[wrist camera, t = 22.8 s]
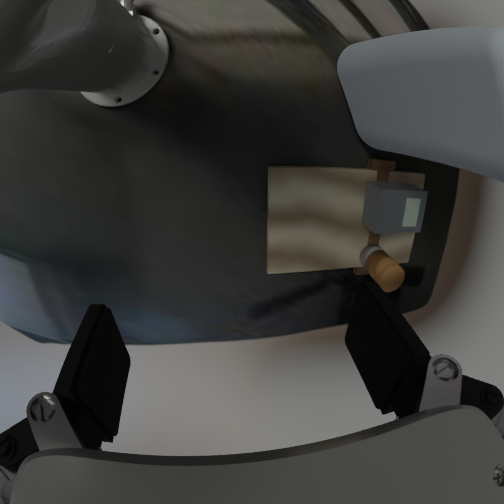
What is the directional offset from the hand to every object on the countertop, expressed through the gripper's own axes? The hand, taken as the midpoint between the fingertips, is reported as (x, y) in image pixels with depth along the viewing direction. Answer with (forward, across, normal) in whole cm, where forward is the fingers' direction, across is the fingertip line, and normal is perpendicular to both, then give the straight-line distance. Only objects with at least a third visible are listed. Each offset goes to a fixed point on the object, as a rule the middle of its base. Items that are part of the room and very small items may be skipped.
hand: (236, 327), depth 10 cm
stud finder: (+26, -23, +5) cm, 35 cm away
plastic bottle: (+28, -23, -11) cm, 38 cm away
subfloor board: (+27, -18, +8) cm, 34 cm away
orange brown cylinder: (+26, -22, +13) cm, 36 cm away
